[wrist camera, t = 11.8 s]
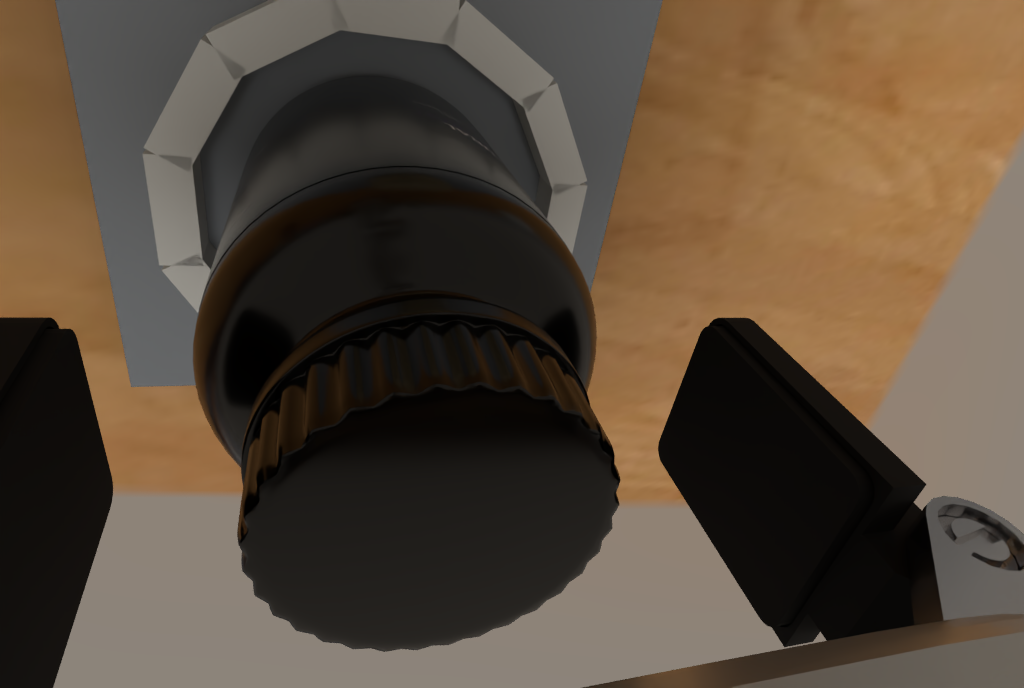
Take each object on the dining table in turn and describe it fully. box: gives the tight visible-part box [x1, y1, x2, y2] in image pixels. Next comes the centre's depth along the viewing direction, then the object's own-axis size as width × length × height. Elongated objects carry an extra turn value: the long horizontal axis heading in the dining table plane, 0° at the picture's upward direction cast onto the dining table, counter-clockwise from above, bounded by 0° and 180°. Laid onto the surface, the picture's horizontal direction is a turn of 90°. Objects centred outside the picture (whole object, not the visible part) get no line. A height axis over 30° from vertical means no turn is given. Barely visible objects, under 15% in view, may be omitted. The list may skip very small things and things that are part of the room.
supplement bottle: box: [193, 75, 620, 652], centre depth 13 cm, size 7×7×12 cm
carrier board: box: [55, 0, 662, 387], centre depth 13 cm, size 22×14×6 cm, turn 171°
